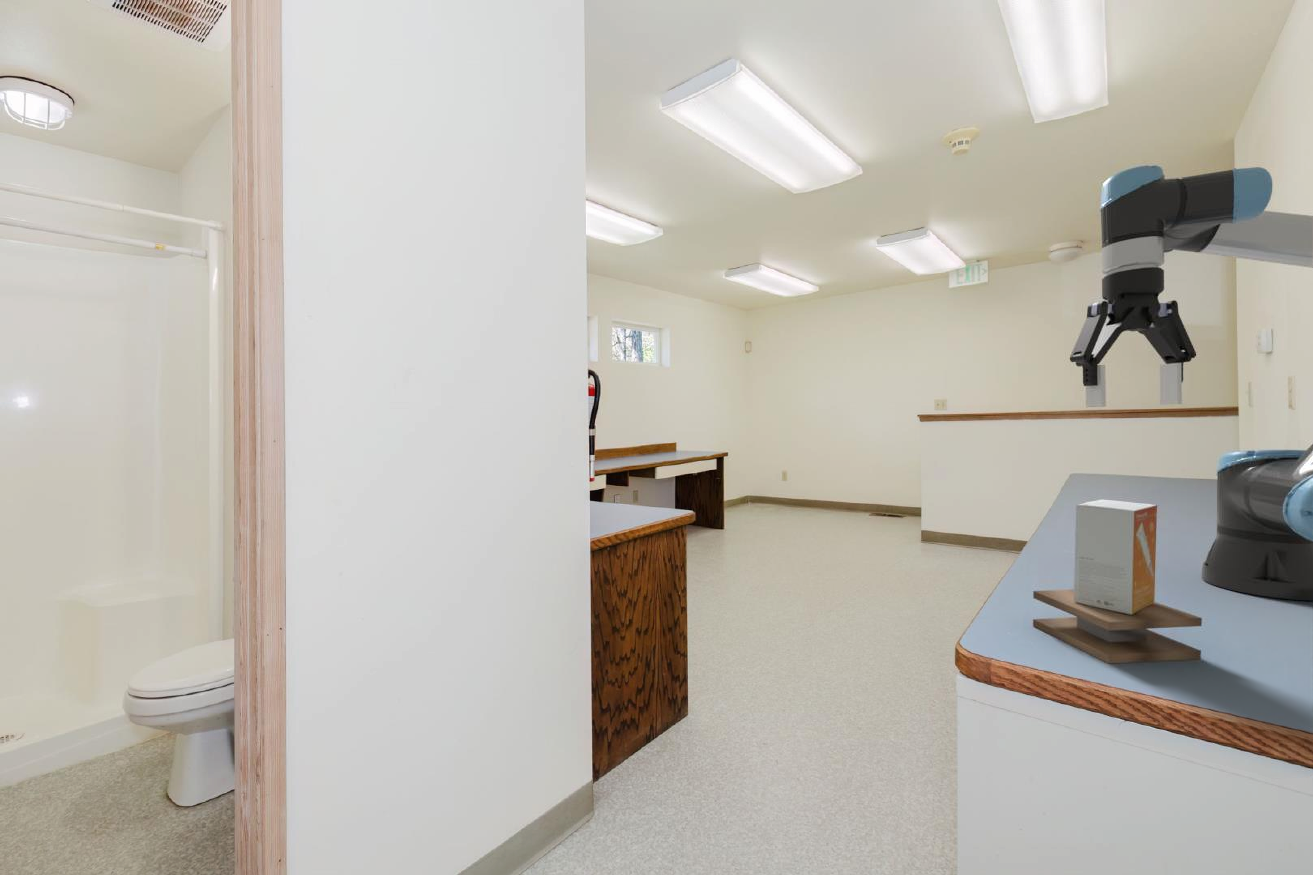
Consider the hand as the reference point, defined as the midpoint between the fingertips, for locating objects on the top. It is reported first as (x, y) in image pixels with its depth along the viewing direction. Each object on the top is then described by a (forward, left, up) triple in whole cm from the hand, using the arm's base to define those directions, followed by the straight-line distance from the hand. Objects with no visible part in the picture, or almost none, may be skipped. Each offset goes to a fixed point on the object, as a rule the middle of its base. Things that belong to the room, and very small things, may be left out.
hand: (1133, 405), depth 89 cm
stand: (+18, +16, -31) cm, 39 cm away
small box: (+18, +16, -26) cm, 35 cm away
